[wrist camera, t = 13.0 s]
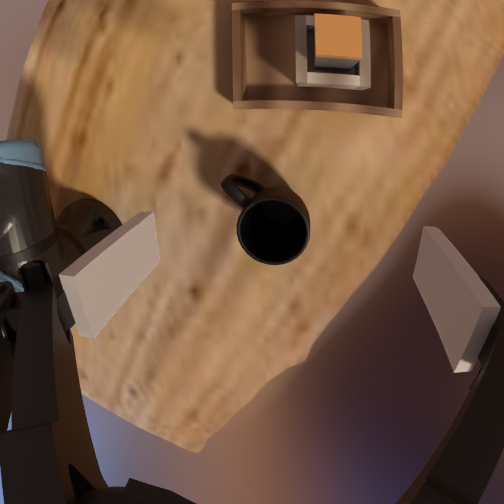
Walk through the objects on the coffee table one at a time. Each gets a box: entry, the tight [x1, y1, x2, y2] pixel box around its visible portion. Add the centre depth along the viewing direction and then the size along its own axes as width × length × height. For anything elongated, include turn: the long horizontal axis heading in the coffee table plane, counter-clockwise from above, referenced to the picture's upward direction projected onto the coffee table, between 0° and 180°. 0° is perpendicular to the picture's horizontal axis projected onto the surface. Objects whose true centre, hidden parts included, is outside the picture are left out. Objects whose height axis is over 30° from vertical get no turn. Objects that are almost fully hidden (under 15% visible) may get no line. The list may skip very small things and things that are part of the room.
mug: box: [221, 174, 310, 265], centre depth 39 cm, size 8×12×10 cm
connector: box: [313, 14, 362, 71], centre depth 27 cm, size 4×4×11 cm
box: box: [232, 0, 403, 118], centre depth 31 cm, size 20×14×7 cm
